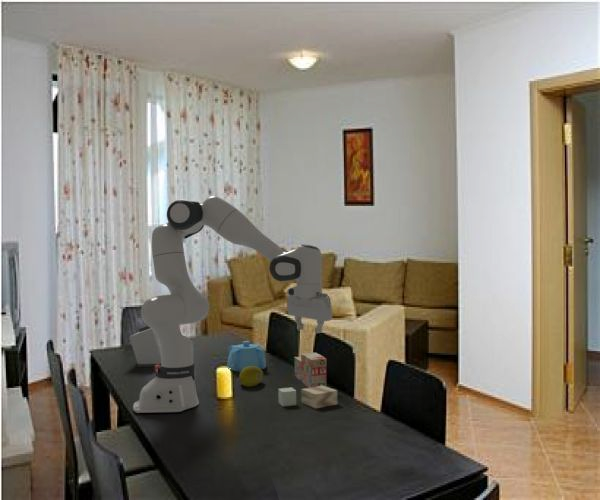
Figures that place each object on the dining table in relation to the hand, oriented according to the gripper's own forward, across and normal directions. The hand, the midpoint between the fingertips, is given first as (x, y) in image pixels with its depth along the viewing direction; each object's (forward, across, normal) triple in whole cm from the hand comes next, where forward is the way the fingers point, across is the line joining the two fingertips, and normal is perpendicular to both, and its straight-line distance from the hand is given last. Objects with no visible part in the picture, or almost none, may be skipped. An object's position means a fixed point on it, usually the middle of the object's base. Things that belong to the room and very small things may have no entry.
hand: (309, 330), depth 214 cm
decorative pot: (+27, +54, -12) cm, 61 cm away
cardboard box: (+26, +19, -17) cm, 36 cm away
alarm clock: (+28, +92, +12) cm, 97 cm away
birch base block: (+25, -4, -2) cm, 26 cm away
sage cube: (+25, +4, +7) cm, 26 cm away
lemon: (+26, +32, +1) cm, 42 cm away
